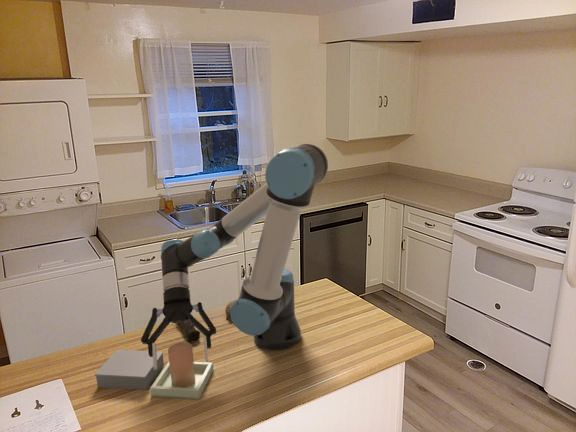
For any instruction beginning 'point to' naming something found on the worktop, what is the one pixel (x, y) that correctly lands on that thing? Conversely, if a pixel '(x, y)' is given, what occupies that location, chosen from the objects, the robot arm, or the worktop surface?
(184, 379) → the terracotta domed cylinder
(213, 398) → the worktop surface
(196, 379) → the tray
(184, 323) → the hand tool
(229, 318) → the bread roll
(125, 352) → the grey square plinth
